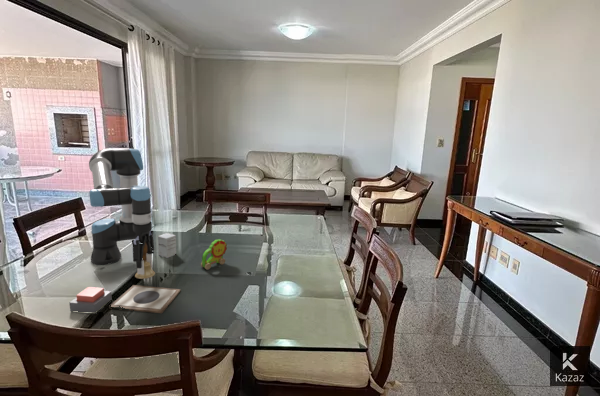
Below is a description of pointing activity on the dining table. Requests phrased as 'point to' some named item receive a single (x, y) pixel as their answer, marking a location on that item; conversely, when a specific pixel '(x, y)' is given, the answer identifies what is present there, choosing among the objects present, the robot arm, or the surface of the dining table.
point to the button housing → (90, 303)
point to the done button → (90, 294)
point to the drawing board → (146, 298)
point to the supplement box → (167, 245)
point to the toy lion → (214, 254)
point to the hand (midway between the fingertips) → (145, 270)
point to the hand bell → (145, 267)
